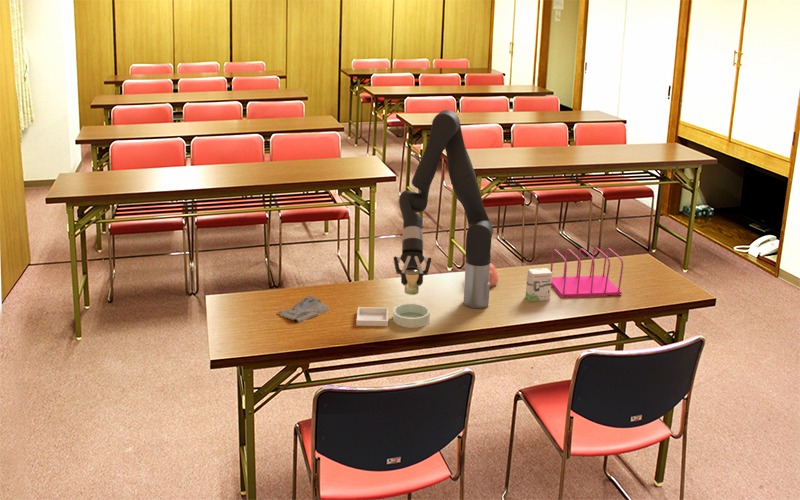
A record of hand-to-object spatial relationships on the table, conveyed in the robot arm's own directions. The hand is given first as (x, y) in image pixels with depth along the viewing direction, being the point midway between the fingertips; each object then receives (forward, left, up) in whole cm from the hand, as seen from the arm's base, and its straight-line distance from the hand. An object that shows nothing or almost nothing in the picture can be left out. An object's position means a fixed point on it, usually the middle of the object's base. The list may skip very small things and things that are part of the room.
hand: (412, 284), depth 252 cm
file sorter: (-71, -35, -15) cm, 81 cm away
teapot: (-30, -40, -15) cm, 52 cm away
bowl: (0, -2, -15) cm, 15 cm away
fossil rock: (+40, -9, -16) cm, 44 cm away
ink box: (-50, -24, -15) cm, 57 cm away
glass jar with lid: (0, -2, -4) cm, 4 cm away
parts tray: (+14, -2, -15) cm, 21 cm away
